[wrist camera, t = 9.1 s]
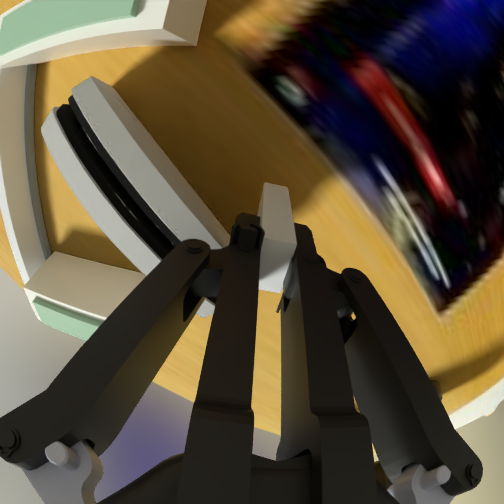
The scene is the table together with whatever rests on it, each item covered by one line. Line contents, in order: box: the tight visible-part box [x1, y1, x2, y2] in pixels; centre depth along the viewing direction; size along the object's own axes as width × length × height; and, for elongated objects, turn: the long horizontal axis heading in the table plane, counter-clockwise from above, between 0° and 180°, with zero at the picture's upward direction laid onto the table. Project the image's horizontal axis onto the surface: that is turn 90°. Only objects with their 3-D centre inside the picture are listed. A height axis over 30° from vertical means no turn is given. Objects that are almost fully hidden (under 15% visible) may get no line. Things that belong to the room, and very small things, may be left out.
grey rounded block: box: [41, 76, 231, 318], centre depth 15 cm, size 17×5×10 cm, turn 34°
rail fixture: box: [0, 0, 207, 341], centre depth 15 cm, size 28×17×7 cm, turn 169°
